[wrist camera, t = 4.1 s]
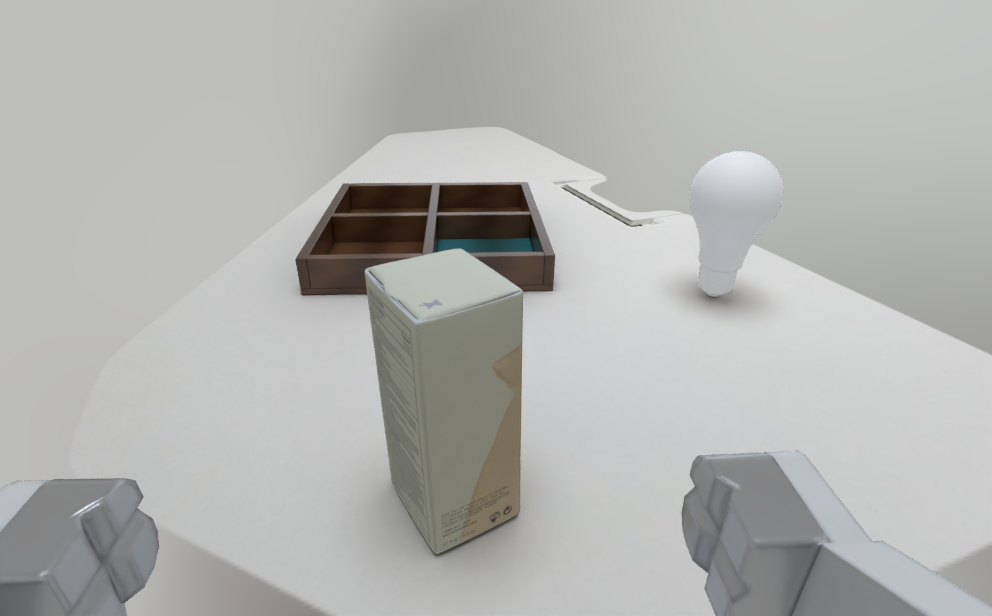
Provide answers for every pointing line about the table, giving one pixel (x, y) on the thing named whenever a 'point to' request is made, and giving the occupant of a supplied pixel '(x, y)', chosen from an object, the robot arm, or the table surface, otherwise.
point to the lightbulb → (731, 213)
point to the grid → (426, 232)
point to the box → (449, 390)
